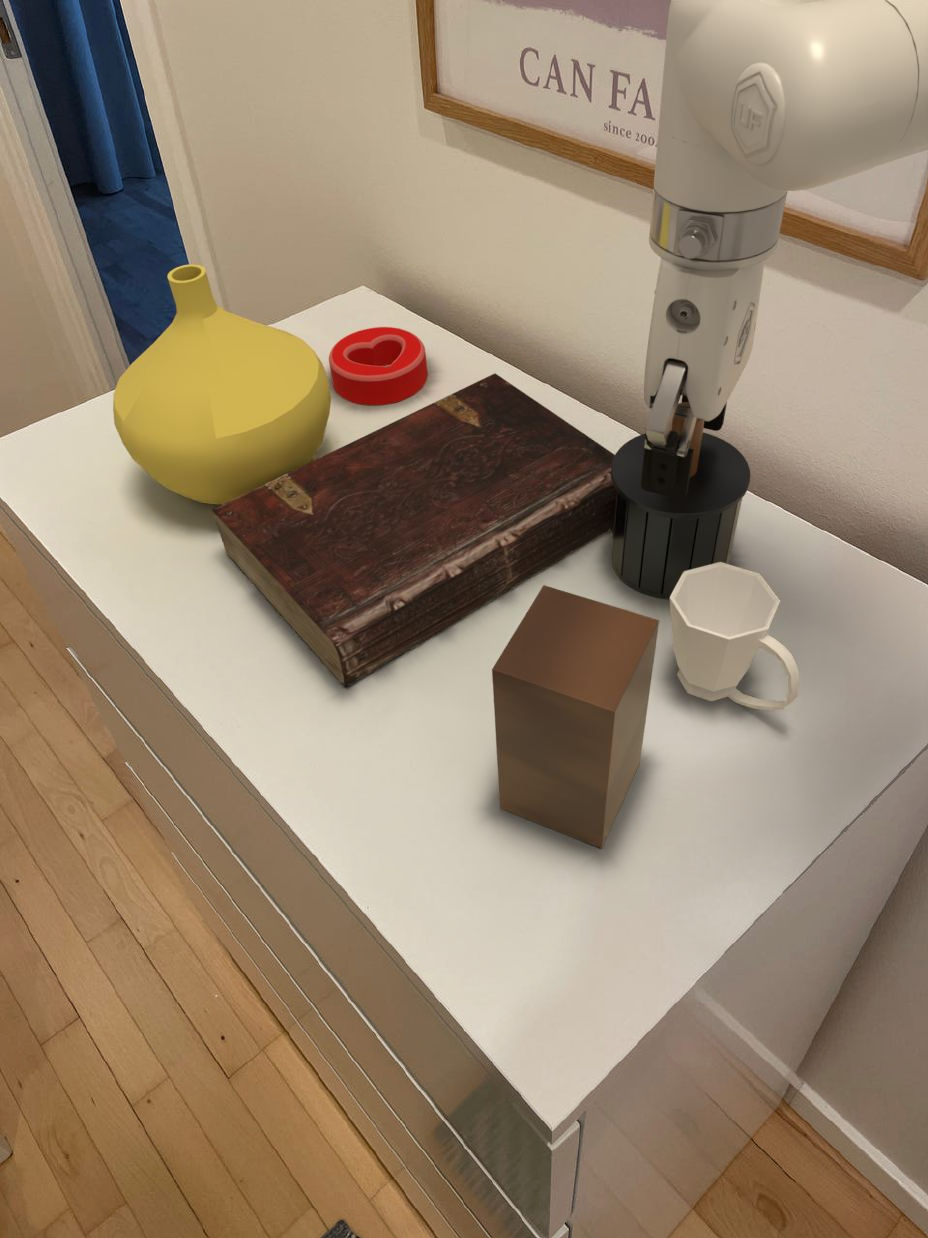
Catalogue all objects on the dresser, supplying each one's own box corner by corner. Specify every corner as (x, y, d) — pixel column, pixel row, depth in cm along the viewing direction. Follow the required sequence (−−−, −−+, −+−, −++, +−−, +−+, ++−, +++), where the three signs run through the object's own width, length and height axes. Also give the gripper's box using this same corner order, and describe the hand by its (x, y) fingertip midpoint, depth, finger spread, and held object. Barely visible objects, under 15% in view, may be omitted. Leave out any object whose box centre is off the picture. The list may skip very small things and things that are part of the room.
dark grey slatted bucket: (741, 538, 77) (759, 453, 71) (707, 613, 71) (723, 529, 65) (633, 509, 80) (641, 426, 74) (593, 579, 74) (598, 496, 68)
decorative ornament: (380, 417, 91) (375, 389, 89) (313, 383, 96) (308, 355, 94) (447, 372, 96) (444, 344, 94) (380, 342, 101) (377, 315, 98)
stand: (640, 763, 63) (659, 619, 52) (601, 849, 58) (614, 712, 48) (542, 728, 65) (543, 584, 55) (499, 808, 61) (491, 669, 51)
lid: (765, 451, 71) (778, 388, 67) (727, 534, 65) (739, 470, 61) (637, 422, 74) (643, 360, 70) (590, 498, 68) (593, 435, 64)
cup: (703, 625, 70) (718, 546, 65) (815, 705, 65) (843, 626, 59) (637, 674, 68) (647, 595, 62) (748, 761, 62) (770, 684, 56)
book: (347, 689, 68) (336, 643, 65) (227, 555, 79) (212, 509, 75) (636, 515, 79) (641, 468, 76) (496, 418, 90) (495, 373, 86)
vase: (285, 555, 79) (229, 351, 65) (102, 514, 84) (14, 317, 70) (374, 428, 90) (344, 232, 76) (209, 399, 95) (152, 210, 81)
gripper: (737, 297, 49) (697, 546, 62) (814, 167, 59) (765, 404, 72) (601, 273, 52) (589, 517, 64) (697, 152, 62) (670, 384, 75)
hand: (682, 456), depth 68 cm, fingers open, 7 cm apart
